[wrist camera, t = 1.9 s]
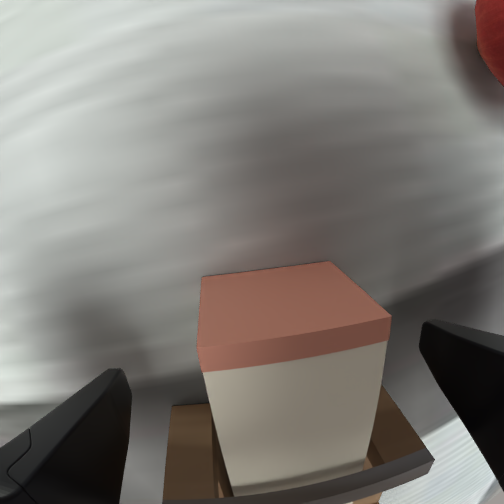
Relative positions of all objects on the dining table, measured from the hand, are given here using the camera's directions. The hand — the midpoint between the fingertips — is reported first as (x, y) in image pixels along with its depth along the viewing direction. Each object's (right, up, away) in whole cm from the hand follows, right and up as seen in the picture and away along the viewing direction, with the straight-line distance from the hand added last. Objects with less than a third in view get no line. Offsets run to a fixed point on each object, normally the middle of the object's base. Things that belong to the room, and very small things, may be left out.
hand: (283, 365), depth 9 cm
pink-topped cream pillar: (0, -4, +3) cm, 5 cm away
